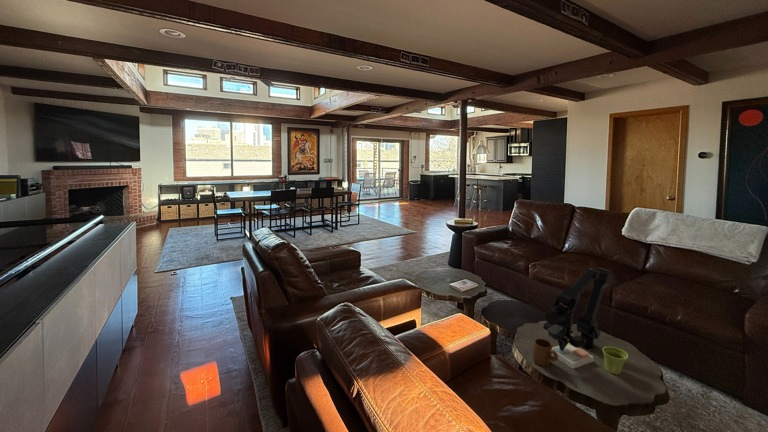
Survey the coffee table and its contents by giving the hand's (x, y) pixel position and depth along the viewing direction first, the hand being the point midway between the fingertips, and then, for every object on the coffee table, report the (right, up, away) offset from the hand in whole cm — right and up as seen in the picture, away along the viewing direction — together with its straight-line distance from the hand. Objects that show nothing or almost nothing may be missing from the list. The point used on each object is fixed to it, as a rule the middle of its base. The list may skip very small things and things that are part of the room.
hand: (561, 350), depth 170 cm
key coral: (+8, -1, -3) cm, 8 cm away
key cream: (+5, -2, +3) cm, 6 cm away
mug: (-10, -4, -6) cm, 13 cm away
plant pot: (+18, -5, -10) cm, 21 cm away
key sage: (+2, -3, -5) cm, 6 cm away
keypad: (+4, -3, -1) cm, 5 cm away
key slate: (0, -2, 0) cm, 2 cm away
